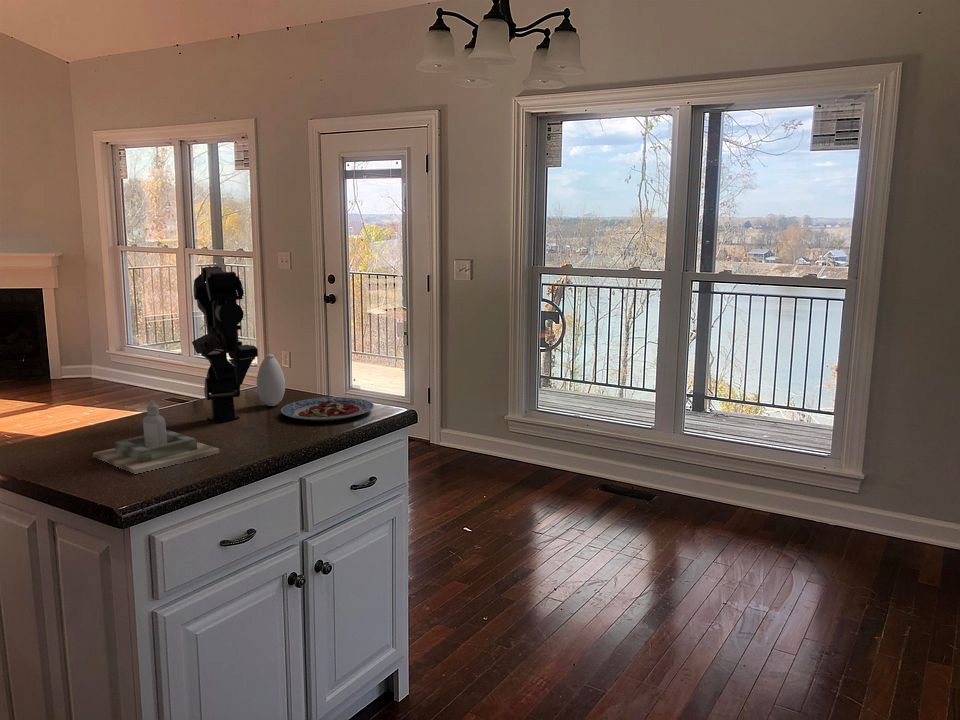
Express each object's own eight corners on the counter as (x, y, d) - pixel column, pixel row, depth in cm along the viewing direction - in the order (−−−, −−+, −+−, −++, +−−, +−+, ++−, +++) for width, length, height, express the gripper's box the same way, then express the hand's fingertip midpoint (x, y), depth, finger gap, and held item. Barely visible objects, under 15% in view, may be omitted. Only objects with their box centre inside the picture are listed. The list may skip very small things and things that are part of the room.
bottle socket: (93, 457, 177) (92, 442, 176) (175, 439, 192) (174, 425, 191) (135, 475, 164) (133, 458, 163) (219, 453, 179) (218, 438, 178)
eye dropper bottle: (148, 454, 174) (143, 403, 172) (144, 449, 179) (140, 398, 177) (168, 451, 177) (164, 401, 175) (164, 446, 181) (160, 396, 179)
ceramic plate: (320, 401, 234) (319, 391, 233) (391, 409, 223) (391, 399, 222) (261, 420, 211) (260, 409, 211) (337, 430, 200) (337, 419, 199)
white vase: (291, 404, 228) (288, 345, 225) (271, 410, 222) (267, 348, 219) (272, 401, 233) (269, 343, 229) (252, 407, 226) (249, 346, 223)
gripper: (176, 322, 193) (180, 383, 196) (216, 328, 181) (221, 392, 184) (216, 318, 202) (220, 376, 204) (257, 323, 190) (261, 385, 193)
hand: (229, 382), depth 196 cm, fingers open, 9 cm apart
